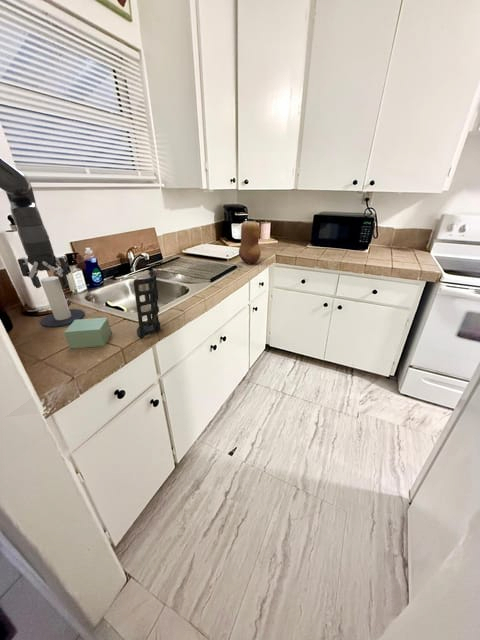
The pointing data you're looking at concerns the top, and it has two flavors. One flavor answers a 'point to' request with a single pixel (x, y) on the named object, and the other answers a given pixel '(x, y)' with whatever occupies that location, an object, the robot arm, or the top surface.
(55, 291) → the gray elongated block
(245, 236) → the butternut squash
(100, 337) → the leaning block
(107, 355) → the top surface
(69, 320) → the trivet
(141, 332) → the holder
